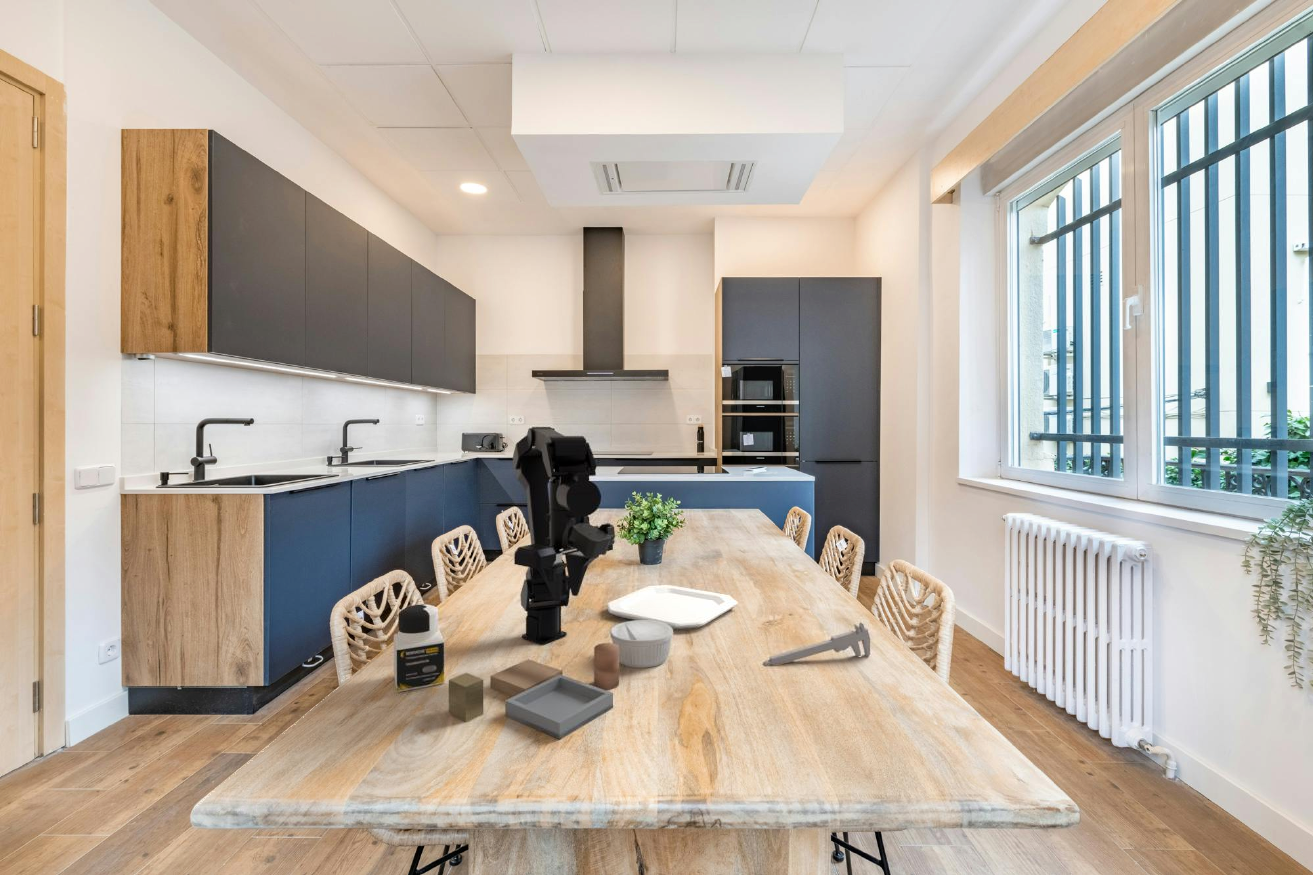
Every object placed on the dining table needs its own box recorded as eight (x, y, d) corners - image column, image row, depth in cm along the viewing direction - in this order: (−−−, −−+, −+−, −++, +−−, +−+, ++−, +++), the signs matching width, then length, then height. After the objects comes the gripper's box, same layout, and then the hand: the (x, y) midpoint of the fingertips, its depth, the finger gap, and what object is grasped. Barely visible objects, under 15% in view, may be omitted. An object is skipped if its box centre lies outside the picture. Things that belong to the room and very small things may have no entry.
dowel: (605, 676, 97) (605, 641, 97) (624, 683, 95) (624, 646, 95) (589, 685, 94) (589, 648, 94) (607, 692, 92) (608, 654, 92)
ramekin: (597, 659, 105) (597, 629, 105) (641, 642, 114) (641, 615, 113) (642, 677, 98) (642, 645, 98) (685, 657, 106) (685, 629, 106)
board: (528, 673, 100) (528, 659, 100) (562, 685, 95) (562, 670, 95) (490, 691, 93) (490, 675, 93) (525, 705, 89) (525, 688, 88)
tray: (560, 688, 93) (560, 674, 93) (613, 707, 87) (613, 692, 87) (505, 715, 84) (505, 700, 84) (559, 739, 78) (559, 723, 78)
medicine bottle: (396, 693, 91) (396, 616, 91) (393, 676, 98) (393, 604, 97) (444, 684, 95) (444, 610, 94) (438, 668, 101) (438, 598, 101)
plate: (745, 606, 137) (745, 597, 137) (693, 638, 116) (693, 627, 116) (655, 591, 150) (655, 582, 150) (595, 617, 129) (595, 607, 129)
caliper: (867, 655, 108) (867, 621, 107) (870, 657, 106) (870, 623, 106) (762, 665, 103) (763, 629, 103) (765, 667, 102) (765, 631, 102)
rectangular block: (466, 706, 87) (466, 672, 87) (483, 713, 85) (483, 679, 85) (448, 713, 85) (448, 679, 85) (465, 722, 82) (465, 686, 82)
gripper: (560, 519, 89) (560, 621, 89) (636, 506, 104) (636, 593, 104) (511, 513, 95) (512, 608, 95) (589, 501, 110) (589, 584, 111)
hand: (566, 598), depth 101 cm, fingers open, 4 cm apart
